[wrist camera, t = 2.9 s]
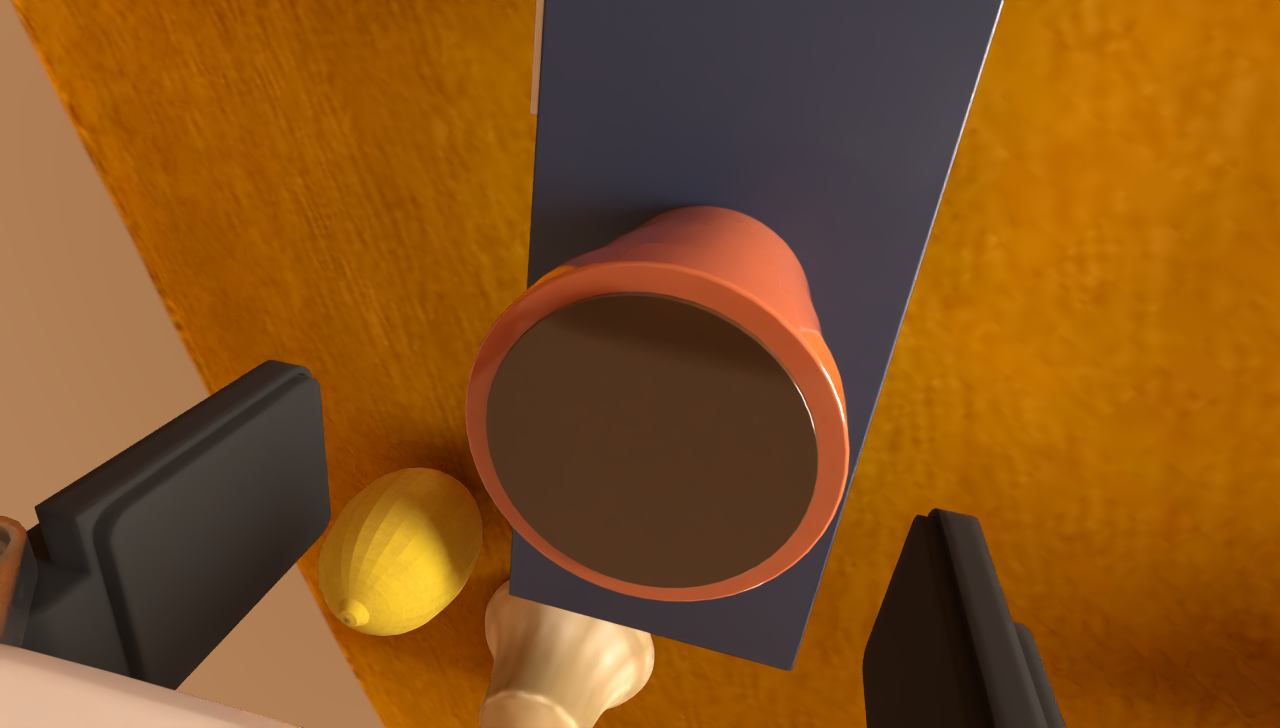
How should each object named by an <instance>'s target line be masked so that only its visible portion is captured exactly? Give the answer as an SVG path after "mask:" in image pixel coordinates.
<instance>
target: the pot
mask: <svg viewBox="0 0 1280 728" xmlns="http://www.w3.org/2000/svg"><path fill="white" fill-rule="evenodd" d="M465 413H466V430H467V435H468V440H469V446H470V450H471V453H472V456H473V459H474V463H475V466H476V469H477V471H478V473H479V475H480V477H481V480H482V482H483V484H484V486H485V488H486V490H487V492H488V493H489V495H490V496H491V498H492V500H493V501H494V503H495V505H496V506H497V508H498V509H499V510H500V512H501V513H502V514H503V515H504V517H505V518H506V519H507V521H508V522H509V523H510V524H511V525H512V526H513V527H514V529H515V530H516V531H517V532H518V533H519V534H520V535H521V536H522V537H523V538H524V539H525V540H526V541H527V542H528V543H530V544H531V545H532V546H533V547H534V548H536V549H537V550H538V551H539V552H540V553H542V554H543V555H544V556H546V557H547V558H548V559H550V560H551V561H553V562H554V563H556V564H557V565H559V566H560V567H562V568H563V569H565V570H567V571H569V572H571V573H573V574H574V575H576V576H578V577H580V578H582V579H584V580H586V581H589V582H591V583H593V584H596V585H598V586H600V587H603V588H606V589H609V590H612V591H615V592H618V593H622V594H625V595H630V596H635V597H639V598H644V599H651V600H660V601H687V602H691V601H701V600H711V599H716V598H721V597H726V596H730V595H735V594H738V593H741V592H743V591H746V590H749V589H752V588H755V587H757V586H759V585H761V584H763V583H765V582H767V581H769V580H771V579H773V578H775V577H777V576H778V575H780V574H781V573H783V572H784V571H786V570H787V569H789V568H790V567H792V566H793V565H794V564H795V563H796V562H797V561H799V560H800V559H801V558H802V557H803V556H804V555H805V554H806V553H808V552H809V550H810V549H811V548H812V547H813V546H814V544H815V543H816V542H817V541H818V540H819V538H820V537H821V536H822V535H823V534H824V532H825V530H826V529H827V527H828V525H829V524H830V522H831V520H832V519H833V517H834V515H835V513H836V511H837V508H838V506H839V503H840V501H841V498H842V496H843V492H844V488H845V484H846V479H847V475H848V465H849V434H848V418H847V408H846V397H845V393H844V389H843V385H842V381H841V377H840V374H839V371H838V369H837V366H836V364H835V361H834V359H833V357H832V354H831V352H830V350H829V348H828V347H827V345H826V343H825V342H824V340H823V336H822V332H821V328H820V324H819V320H818V317H817V315H816V312H815V310H814V307H813V305H812V302H811V294H810V290H809V286H808V282H807V278H806V276H805V274H804V271H803V269H802V266H801V265H800V263H799V261H798V259H797V258H796V256H795V254H794V253H793V252H792V250H791V249H790V248H789V247H788V245H787V244H786V243H785V242H784V241H783V240H782V239H781V238H780V237H779V236H778V235H777V234H776V233H775V232H774V231H772V230H771V229H770V228H768V227H767V226H765V225H764V224H763V223H761V222H759V221H757V220H755V219H754V218H752V217H750V216H747V215H745V214H742V213H740V212H737V211H734V210H730V209H726V208H722V207H713V206H690V207H683V208H678V209H674V210H671V211H667V212H664V213H662V214H660V215H657V216H655V217H653V218H651V219H650V220H648V221H646V222H645V223H643V224H642V225H640V226H639V227H638V228H636V229H635V230H634V231H632V232H630V233H627V234H625V235H623V236H621V237H618V238H617V239H615V240H613V241H612V242H610V243H608V244H607V245H605V246H604V247H602V248H601V249H599V250H595V251H591V252H588V253H585V254H583V255H580V256H578V257H576V258H574V259H571V260H569V261H567V262H564V263H563V264H561V265H560V266H558V267H556V268H555V269H553V270H552V271H550V272H548V273H547V274H545V275H544V276H543V277H542V278H541V279H539V280H538V281H537V282H536V283H535V284H534V285H532V286H531V287H530V288H529V289H528V290H527V291H526V292H524V293H523V294H522V295H521V296H520V297H519V298H518V299H517V300H516V301H514V302H513V303H512V304H511V305H510V306H509V307H508V308H507V309H506V310H505V311H504V312H503V313H502V315H501V316H500V317H499V318H498V319H497V320H496V322H495V323H494V324H493V325H492V327H491V328H490V330H489V331H488V333H487V335H486V336H485V338H484V340H483V341H482V343H481V345H480V347H479V349H478V352H477V354H476V357H475V359H474V361H473V364H472V368H471V372H470V376H469V380H468V384H467V393H466V404H465Z"/></svg>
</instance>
